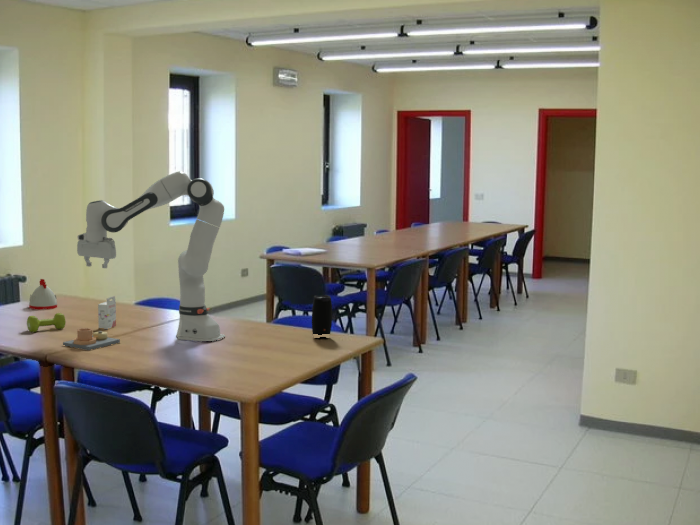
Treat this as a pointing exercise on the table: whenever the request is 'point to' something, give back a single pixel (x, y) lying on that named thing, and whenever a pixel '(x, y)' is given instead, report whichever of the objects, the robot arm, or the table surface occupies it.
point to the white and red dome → (43, 297)
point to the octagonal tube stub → (84, 337)
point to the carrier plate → (100, 341)
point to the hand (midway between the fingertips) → (96, 267)
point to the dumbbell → (46, 322)
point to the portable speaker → (322, 315)
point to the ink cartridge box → (107, 313)
